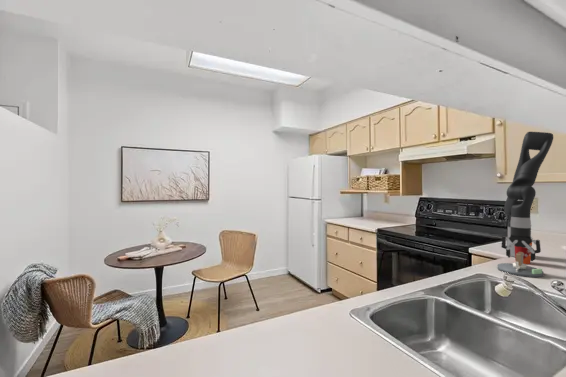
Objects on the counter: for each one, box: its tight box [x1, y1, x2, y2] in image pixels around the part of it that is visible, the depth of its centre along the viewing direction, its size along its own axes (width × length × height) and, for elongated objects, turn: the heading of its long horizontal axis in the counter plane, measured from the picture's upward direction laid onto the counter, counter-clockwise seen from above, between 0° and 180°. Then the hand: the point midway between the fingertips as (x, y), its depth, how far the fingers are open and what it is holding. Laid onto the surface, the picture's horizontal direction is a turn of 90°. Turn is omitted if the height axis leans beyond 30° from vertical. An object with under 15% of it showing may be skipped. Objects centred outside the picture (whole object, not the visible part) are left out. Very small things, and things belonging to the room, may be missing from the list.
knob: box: [512, 252, 527, 270], centre depth 130 cm, size 10×5×7 cm, turn 130°
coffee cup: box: [514, 235, 534, 265], centre depth 146 cm, size 8×8×15 cm
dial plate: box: [496, 262, 544, 279], centre depth 131 cm, size 17×17×4 cm
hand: (520, 259), depth 131 cm, fingers open, 8 cm apart
